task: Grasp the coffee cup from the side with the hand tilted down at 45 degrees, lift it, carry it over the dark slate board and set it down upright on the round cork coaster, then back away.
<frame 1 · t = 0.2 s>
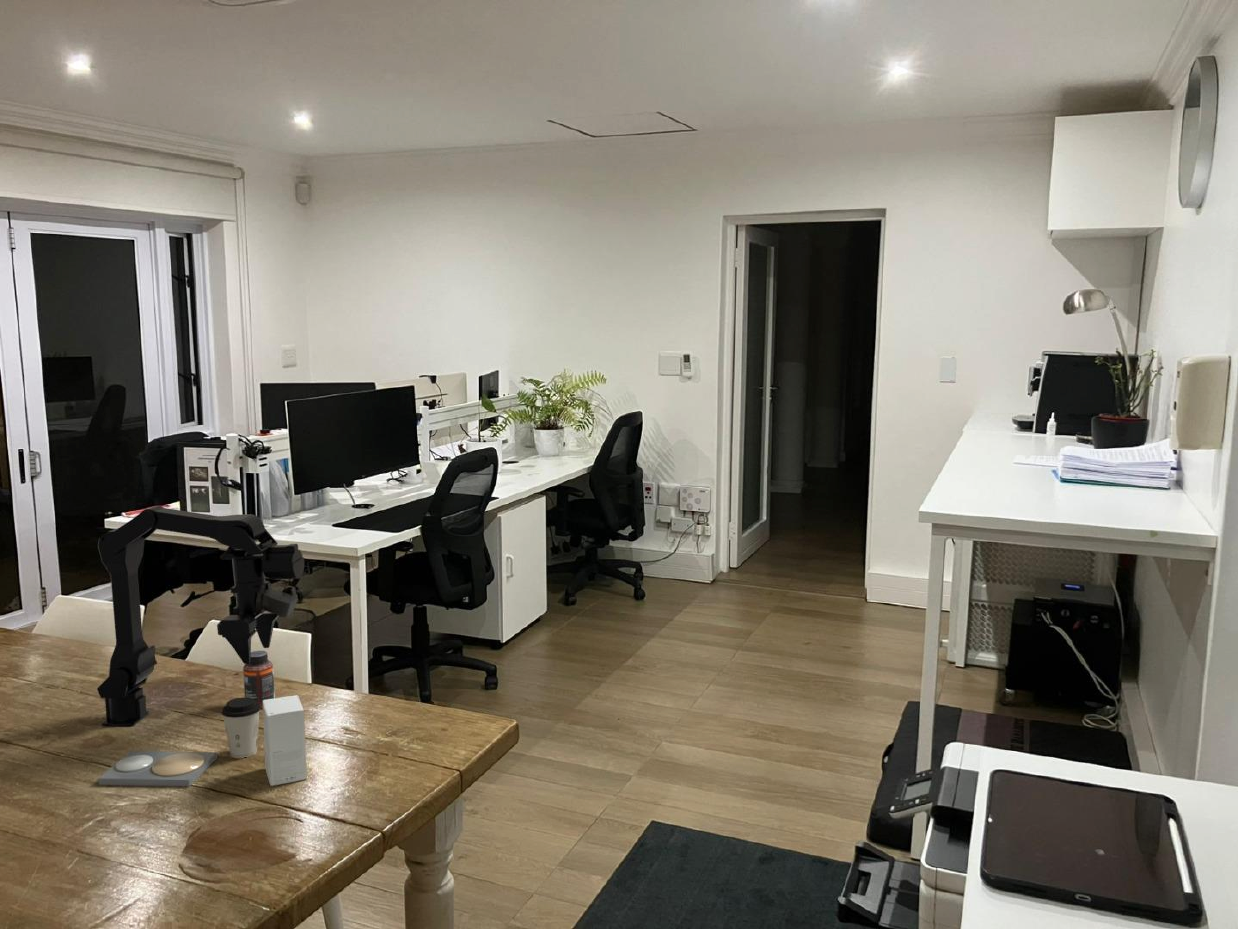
hand: (257, 655, 193), 14 cm above the table, tool pointing down, fingers open, 9 cm apart
supplement bottle: (260, 705, 205), on the table
small box: (286, 775, 174), on the table
slate board: (159, 771, 174), on the table
coffee cup: (243, 754, 182), on the table
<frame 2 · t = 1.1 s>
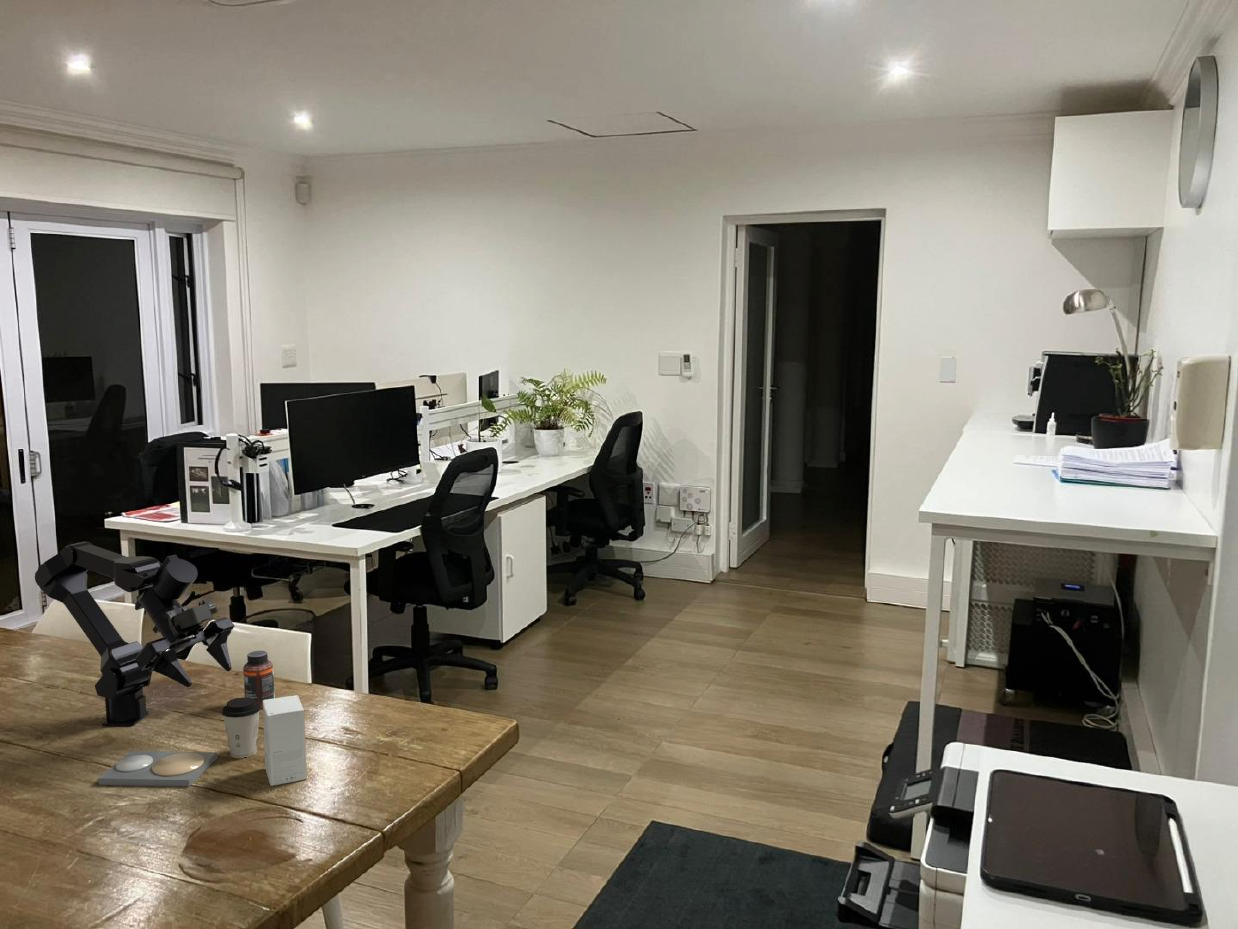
hand: (210, 678, 183), 13 cm above the table, tool tilted 45°, fingers open, 9 cm apart
nothing on the table moved.
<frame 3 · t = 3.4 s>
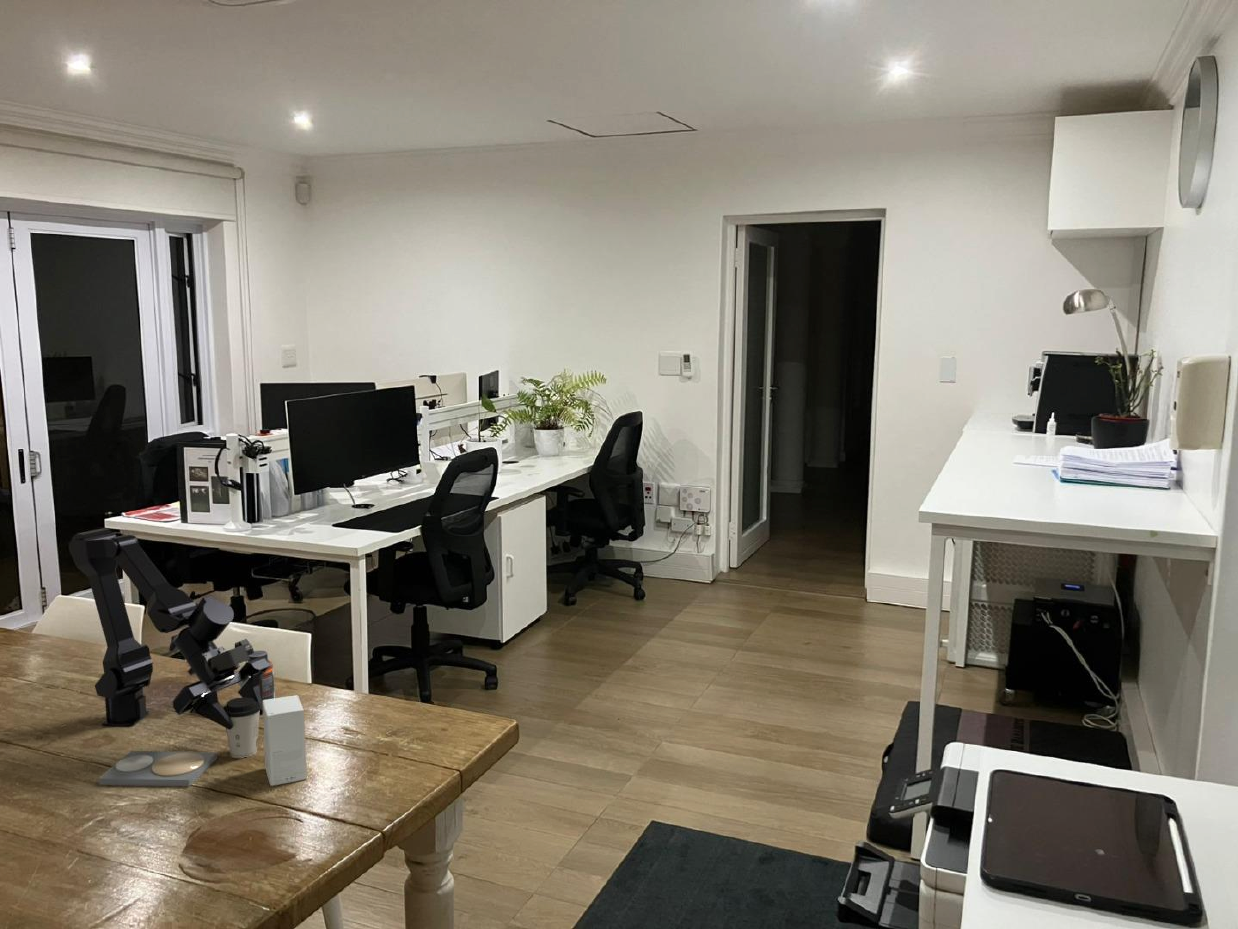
hand: (247, 720, 180), 7 cm above the table, tool tilted 45°, fingers closed on coffee cup, 7 cm apart
coffee cup: (243, 754, 182), on the table, touching gripper
everything else where it was.
when the fingers open (9 cm above the table, at t = 6.7 s): coffee cup drops 1 cm, resting on slate board.
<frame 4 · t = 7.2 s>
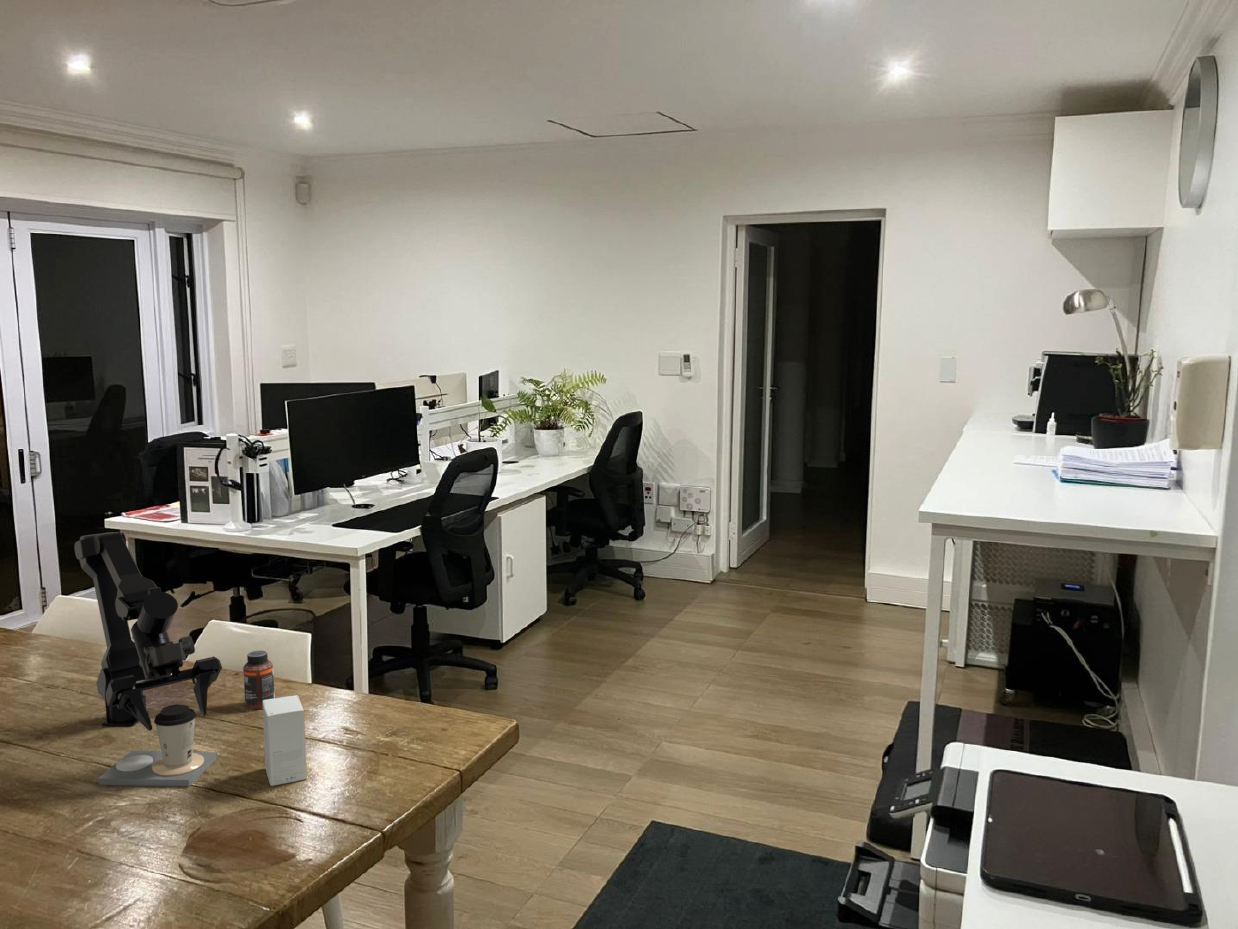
hand: (178, 722, 172), 10 cm above the table, tool tilted 45°, fingers open, 9 cm apart
coffee cup: (178, 763, 174), point 1 cm above the table, touching slate board
everything else where it was.
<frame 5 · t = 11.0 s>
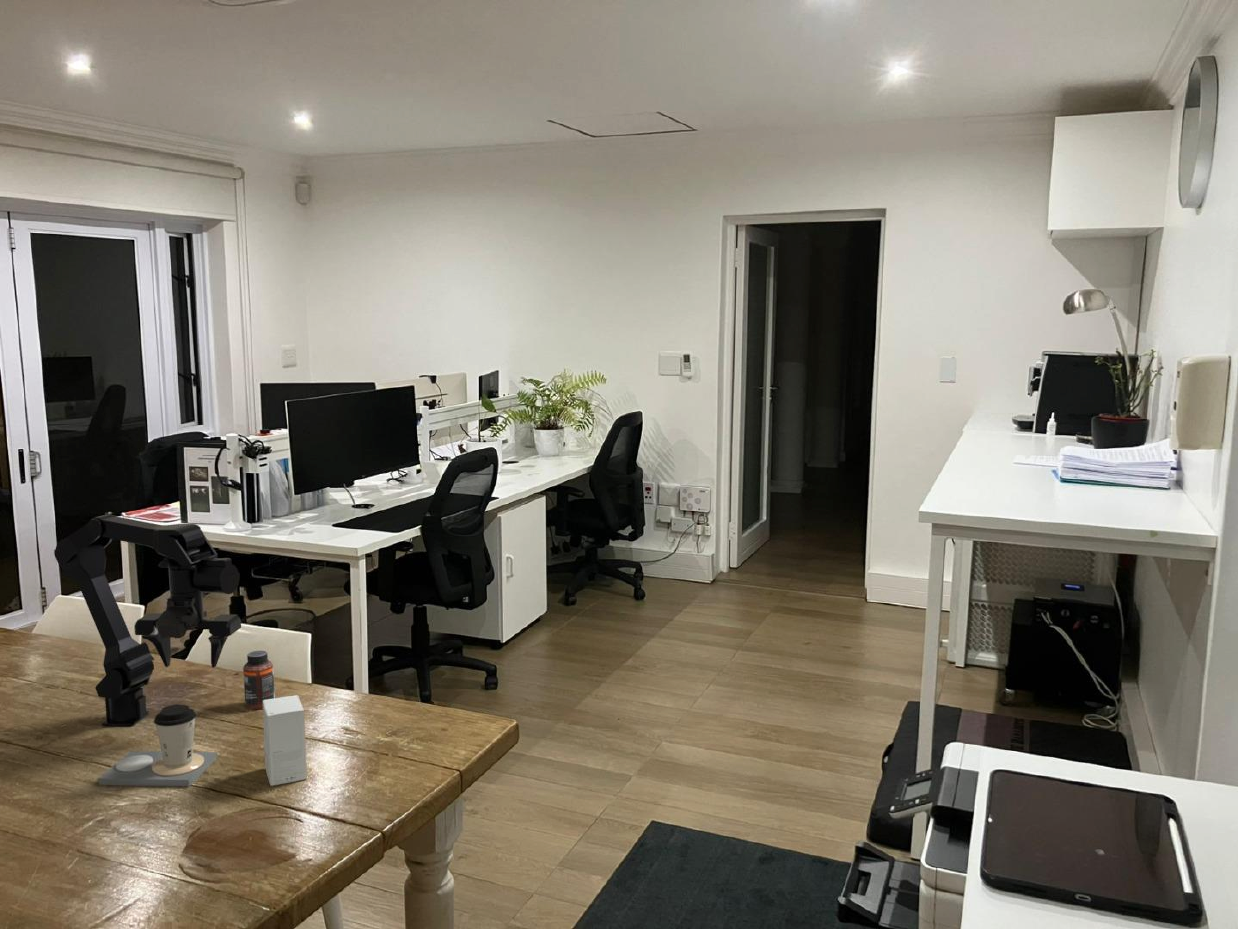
hand: (190, 666, 190), 13 cm above the table, tool pointing down, fingers open, 9 cm apart
nothing on the table moved.
at the end: coffee cup inside the target area on the slate board (0.2 cm from its centre), point 1.4 cm above the slate board's base; coffee cup tilted 0°; the gripper is holding nothing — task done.
